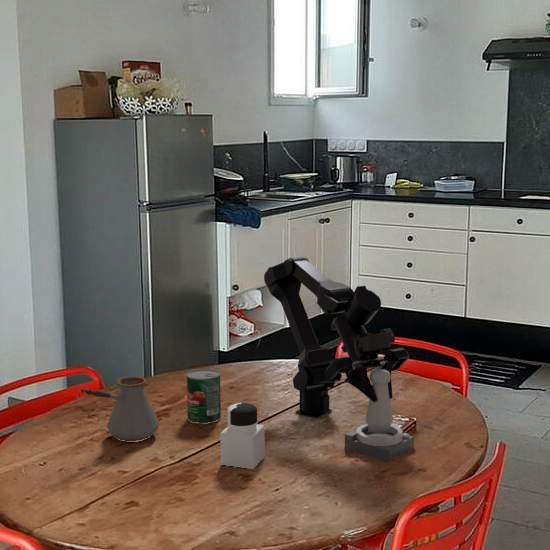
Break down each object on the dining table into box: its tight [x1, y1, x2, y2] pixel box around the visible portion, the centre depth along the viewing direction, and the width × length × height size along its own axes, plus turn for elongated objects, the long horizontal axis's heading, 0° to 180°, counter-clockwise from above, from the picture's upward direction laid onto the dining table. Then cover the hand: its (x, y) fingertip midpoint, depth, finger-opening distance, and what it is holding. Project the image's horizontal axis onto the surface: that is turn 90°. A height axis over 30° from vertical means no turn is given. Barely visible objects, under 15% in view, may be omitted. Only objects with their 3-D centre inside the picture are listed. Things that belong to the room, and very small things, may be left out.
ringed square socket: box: [344, 423, 415, 463], centre depth 182 cm, size 11×10×4 cm
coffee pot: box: [76, 376, 160, 441], centre depth 185 cm, size 21×12×15 cm, turn 147°
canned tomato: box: [186, 368, 222, 423], centre depth 200 cm, size 8×8×11 cm
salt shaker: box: [365, 369, 394, 433], centre depth 181 cm, size 6×6×13 cm
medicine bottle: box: [219, 402, 266, 470], centre depth 175 cm, size 7×7×12 cm
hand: (383, 399), depth 179 cm, fingers closed on salt shaker, 4 cm apart
